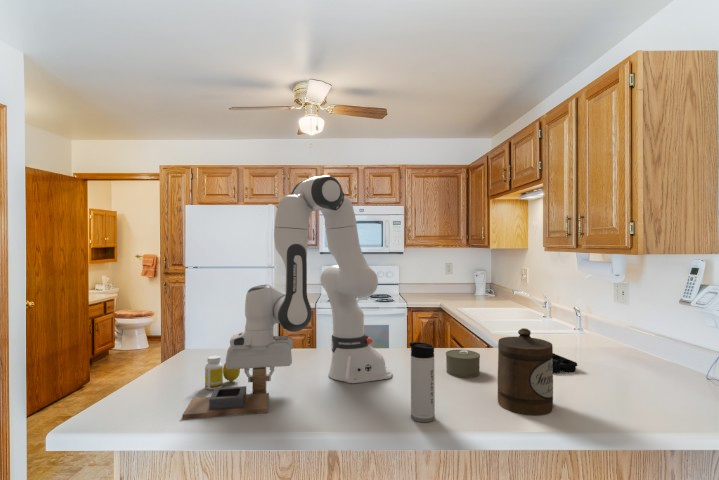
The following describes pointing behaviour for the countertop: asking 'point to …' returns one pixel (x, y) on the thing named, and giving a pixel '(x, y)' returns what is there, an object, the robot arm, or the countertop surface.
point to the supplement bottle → (213, 373)
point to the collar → (227, 398)
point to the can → (463, 363)
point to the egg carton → (563, 364)
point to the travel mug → (422, 382)
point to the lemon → (230, 373)
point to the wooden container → (525, 374)
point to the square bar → (259, 380)
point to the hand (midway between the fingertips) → (259, 381)
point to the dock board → (251, 406)
